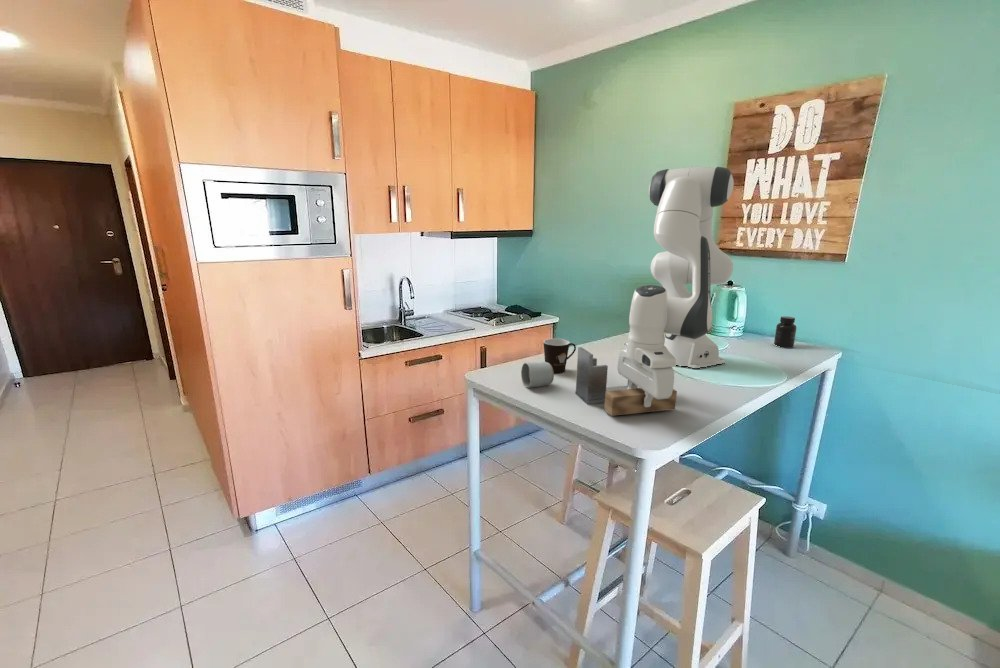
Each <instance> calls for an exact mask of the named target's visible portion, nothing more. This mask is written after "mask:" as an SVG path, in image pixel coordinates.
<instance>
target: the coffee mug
mask: <svg viewBox="0 0 1000 668" xmlns="http://www.w3.org/2000/svg"><path fill="white" fill-rule="evenodd" d="M542 343H543V344H542V345H543V353H544V354H543V355H544V356H543V357H544V362H548V363H550V364H551V365H552V368H553V371H554V375H555V374H556V375H560V374H564V373H565V372H566V368H567V367H566V365H567V360H569V359H570V358H571V357H572V356H573V355H574V353H575V352H576V349H577V345H576V344H575V343H572V342H570V341H569V340H567V339H564V338H547V339H544V340H543V342H542ZM570 346H573V351H572V352H571V353H570V354H569V347H570Z"/></svg>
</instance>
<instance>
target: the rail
mask: <svg viewBox="0 0 1000 668" xmlns="http://www.w3.org/2000/svg"><path fill="white" fill-rule="evenodd" d="M677 394H678V391H677V390H676V389H674V388H673V392H672V395H671V396H670V398H668V399H656V398H655V397H654V398H653V399H652V401H651V406H650V407H645V406H643V405H642V399H644V398H645V396H646V395H645V391H644V390H643V389H641V388H637V389H626V390H615V391H606V394H605V403H604V410H605V411H606V412H607V414H609V415H610V416H622V415H633V414H641V413H650V412H651V413H652V412H659V411H660V412H661V411H669V410H676V404H677V403H676V401H677Z"/></svg>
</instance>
